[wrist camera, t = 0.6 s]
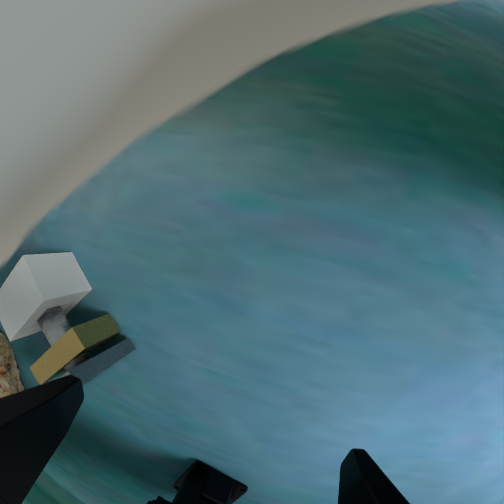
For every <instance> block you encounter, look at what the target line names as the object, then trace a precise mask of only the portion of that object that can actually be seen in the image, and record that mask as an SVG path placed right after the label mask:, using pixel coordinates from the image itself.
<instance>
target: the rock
mask: <svg viewBox="0 0 504 504" xmlns="http://www.w3.org/2000/svg"><path fill="white" fill-rule="evenodd" d="M19 374H20V370H19V369H18V368H17V363H16V361H15V358H14V352H13V349H12V348H11V346H10V343H9V341H8V340H7V339H6V337H5V336H4V335H3V334H2V333H1V332H0V398H1V397H5V396H8V395H11V394H14V393H17V392H20V391H23V390H24V386H23V385H22V382H21V380H20V377H19Z"/></svg>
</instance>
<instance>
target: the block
mask: <svg viewBox="0 0 504 504" xmlns="http://www.w3.org/2000/svg"><path fill="white" fill-rule="evenodd" d="M91 290H92V288H91V286H90V284H89V282H88V281H87V279H86V277H85V275H84V273H83V272H82V270H81V268H80V266H79V264H78V262H77V260H76V258H75V256H74V254H73V253H72V252H65V253H49V254H33V255H23V256H22V257H21V259H20V260H19V262H18V263H17V264H16V266H15V267H14V269H13V270H12V272H11V273H10V275H9V276H8V277H7V279H6V281H5V282H4V284H3V285H2V287H1V288H0V321H1V323H2V326H3V328H4V330H5V332H6V334H7V336H8V338H9V340H10V342H11V341H14V340H17V339H20V338H22V337H25V336H28V335H31V334H34V333H37V332H40V331H42V330H41V328H40V326H39V324H38V322H37V319H38V318H39V317H40V316H41V315H42V314H43V313H44V312H45V310H46V309H49V308H52V307H56V306H61V308H62V310H63V312H64V314H65V315H66V314H67V313H68V312H69V311H70V310H71V309H72V308H73V307H75V306H76V305H77V304H78V303H79V302H80V301H81V300H82V299H83V298H84V297H85V296H86V295H87V294H88V293H89V292H90V291H91Z"/></svg>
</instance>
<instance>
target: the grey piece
mask: <svg viewBox="0 0 504 504" xmlns="http://www.w3.org/2000/svg"><path fill="white" fill-rule="evenodd" d="M37 322H38V324H39V326H40V328H41V330H42V332H43V333H44V335H45V337H46V339H47V341H48V342H49V344H50V346H51V347H52V346H53V345H54V344H55V343H56V342H57V341H58V340H59V339H60V338H61V337H62V336H63V335H64V334H65V333H66V332H67V331H68V330H70V329H71V328H72V326H71V324H70V322H69V321H68V319H67V317H66V315H65V314H64V312H63V310H62V308H61V306H56V307H52V308H49V309H46V310H45V312H44V313H43V314H42V315H41V316H40V317H39V318H38V319H37ZM135 349H136V348H135V347H134V345H133V344H132V342H131V341H130V339H129V338H128V339H126V340H124V341H122V342H120V343H119V344H117V345H115V346H113V347H111V348H109V349H108V350H106V351H104V352H102V353H100V354H98V355H97V356H95V357H93V358H91V357H90V355H89V354H88V352H85V353H83V354H81V355H79V356H78V357H76V358H75V359H74V360H73V361H72V362H70V363H69V364H68V365H67V366H65V367H64V369H65V371H66V373H65V374H64V375H62V376H61V377H64V376H67V375H74V376H76V377H78V378H80V379H81V380H82V385H84V384H86V383H87V382H89V381H90V380H91V379H93V378H94V377H96V376H97V375H99V374H100V373H102V372H103V371H104V370H106V369H107V368H109V367H110V366H112V365H113V364H115V363H116V362H117V361H119V360H120V359H122V358H123V357H125V356H126V355H127V354H129V353H130V352H132V351H133V350H135ZM61 377H60V378H61Z"/></svg>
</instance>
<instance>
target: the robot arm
mask: <svg viewBox="0 0 504 504" xmlns="http://www.w3.org/2000/svg"><path fill="white" fill-rule="evenodd" d="M83 400H84V392H83V385H82V380H81V379H80V378H78V377H76V376H74V375H67V376H64V377H61V378H58V379H55V380H53V381H50V382H47V383H44V384H41V385H38V386H35V387H32V388H29V389H26V390H23V391H20V392H17V393H14V394H11V395H8V396H5V397H1V398H0V504H22V502H23V500H24V499H25V497H26V496H27V494H28V492H29V491H30V489H31V488H32V486H33V484H34V483H35V481H36V480H37V478H38V476H39V475H40V473H41V472H42V470H43V469H44V467H45V466H46V464H47V462H48V461H49V459H50V458H51V456H52V455H53V453H54V452H55V450H56V449H57V447H58V446H59V444H60V443H61V441H62V440H63V438H64V437H65V435H66V433H67V432H68V430H69V428H70V426H71V424H72V422H73V420H74V418H75V416H76V414H77V412H78V410H79V408H80V406H81V404H82V402H83ZM197 464H198V465H197ZM173 488H174V489H175V490H177V491H178V492H177V494H176V496H175V497H174V499H173V501H172V503H171V502H169V501H167V500H165V499H164V498H162V497H160V496H158V498H157V499H156V500H153V501H148V503H147V504H232V503H233V502H235V501H236V500H237V499H238V498H239V497H241V496H242V495H243V494H244V493H245V492H247V489H248V487H247V486H246V485H244V484H242V483H240V482H238V481H236V480H234V479H232V478H230V477H228V476H226V475H224V474H222V473H221V472H219V471H217V470H215V469H213V468H212V467H210V466H208V465H206V464H204V463H203V462H201V461H198V460H197V461H195V462H194V463H193V464H192V465H191V466H190V467H189V468H188V469H187V470H186V472H185V473H184V474H183V475H182V476H181V477H180V478H179V479H178V480H177V481H176V482H175V484H174V485H173ZM242 488H243V489H242ZM338 504H410V503H409V502H408V501H407V500H406V499H405V497H404V496H403V495H402V494H401V493H400V492H399V490H398V489H397V488H396V487H395V486H394V484H393V483H392V482H391V481H390V480H389V478H388V477H387V476H386V475H385V474H384V472H383V471H382V470H381V469H380V468H379V466H378V465H377V464H376V463H375V462H374V460H373V459H372V458H371V457H370V456H369V454H368V453H367V452H366V451H365V450H364V449H355V448H354V449H352V450H350V452H349V453H348V455H347V456H346V458H345V459H344V460H343V462H342V464H341V467H340V482H339V495H338Z"/></svg>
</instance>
